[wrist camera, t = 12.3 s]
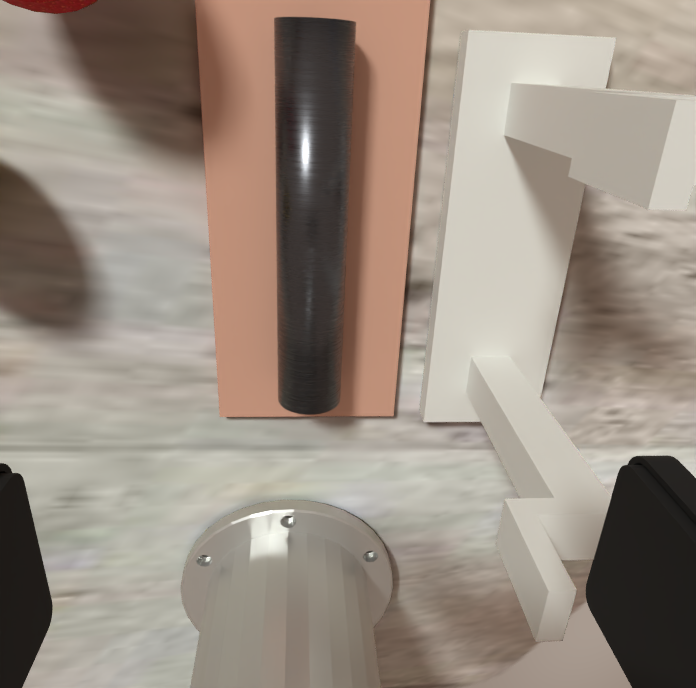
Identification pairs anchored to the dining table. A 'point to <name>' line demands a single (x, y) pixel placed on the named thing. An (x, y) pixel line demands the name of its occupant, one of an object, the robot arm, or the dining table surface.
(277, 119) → the cylinder
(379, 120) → the mat
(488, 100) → the stand
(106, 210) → the dining table surface
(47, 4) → the strawberry
